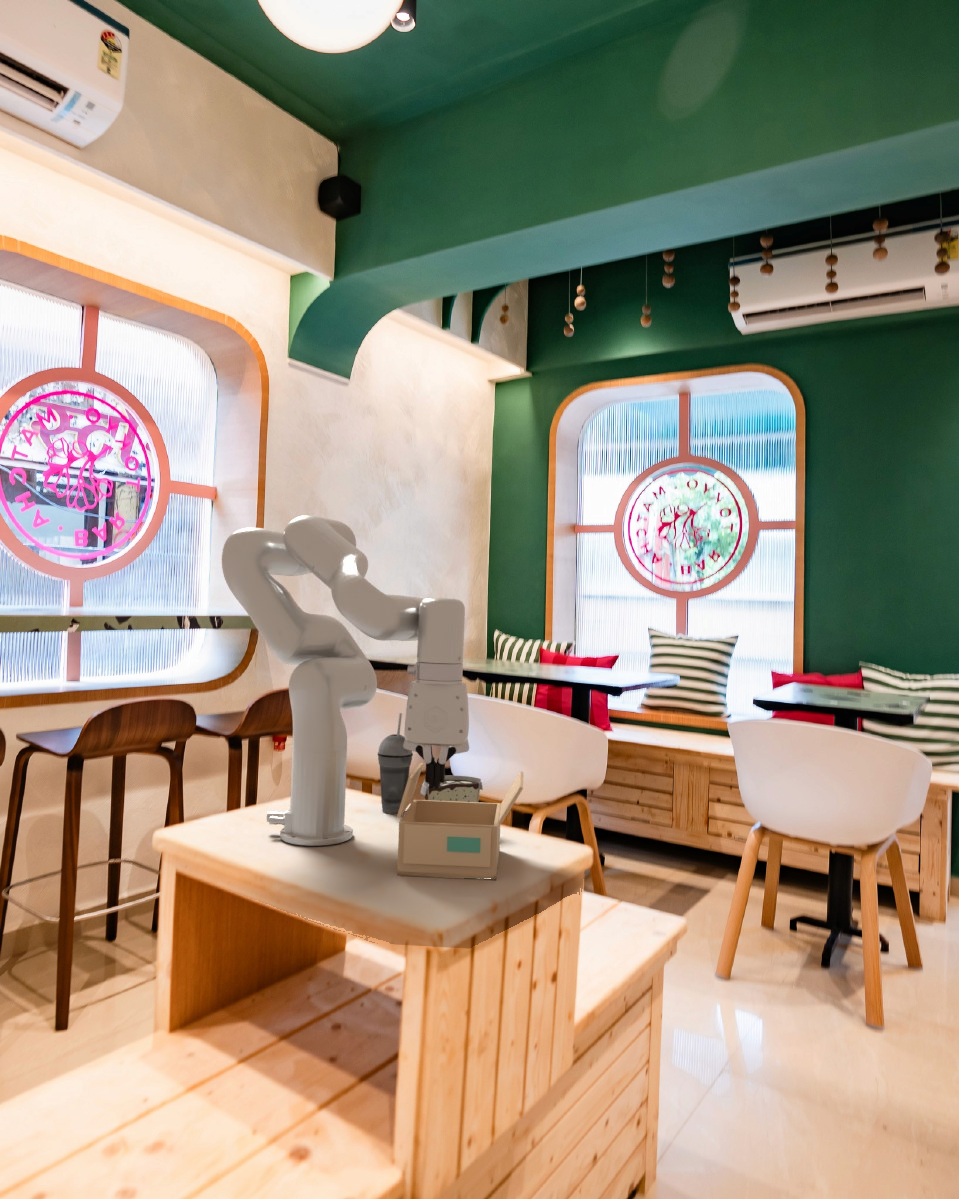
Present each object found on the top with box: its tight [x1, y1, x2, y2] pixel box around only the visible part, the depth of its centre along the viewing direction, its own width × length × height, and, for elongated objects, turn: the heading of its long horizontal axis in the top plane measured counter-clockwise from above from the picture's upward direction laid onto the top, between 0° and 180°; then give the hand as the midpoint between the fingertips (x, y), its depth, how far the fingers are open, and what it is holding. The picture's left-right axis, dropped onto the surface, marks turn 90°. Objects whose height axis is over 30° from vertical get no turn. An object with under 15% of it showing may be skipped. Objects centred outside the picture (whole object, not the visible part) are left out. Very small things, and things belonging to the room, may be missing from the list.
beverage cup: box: [377, 712, 414, 815], centre depth 163 cm, size 7×7×20 cm
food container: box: [420, 774, 484, 802], centre depth 147 cm, size 12×6×10 cm, turn 123°
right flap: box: [499, 770, 524, 825], centre depth 129 cm, size 6×14×1 cm
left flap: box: [396, 762, 424, 819], centre depth 130 cm, size 6×14×1 cm
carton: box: [396, 799, 502, 880], centre depth 129 cm, size 15×17×8 cm
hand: (434, 786), depth 130 cm, fingers closed
